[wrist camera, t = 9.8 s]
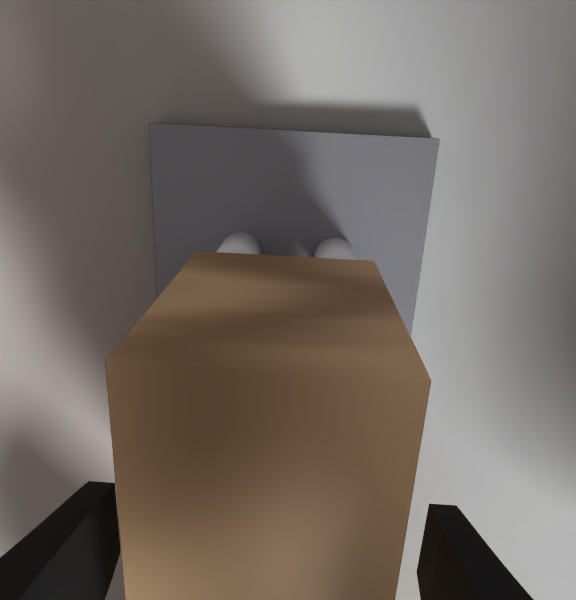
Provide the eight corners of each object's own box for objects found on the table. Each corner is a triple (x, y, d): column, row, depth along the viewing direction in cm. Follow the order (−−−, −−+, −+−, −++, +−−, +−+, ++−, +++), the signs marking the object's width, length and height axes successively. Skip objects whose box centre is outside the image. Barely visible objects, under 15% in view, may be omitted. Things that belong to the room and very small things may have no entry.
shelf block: (374, 261, 12) (431, 380, 7) (335, 612, 16) (350, 870, 11) (196, 251, 12) (104, 360, 7) (202, 604, 16) (147, 855, 11)
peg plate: (432, 137, 14) (467, 142, 11) (370, 578, 20) (381, 661, 17) (157, 123, 15) (116, 124, 11) (174, 565, 20) (150, 645, 17)
